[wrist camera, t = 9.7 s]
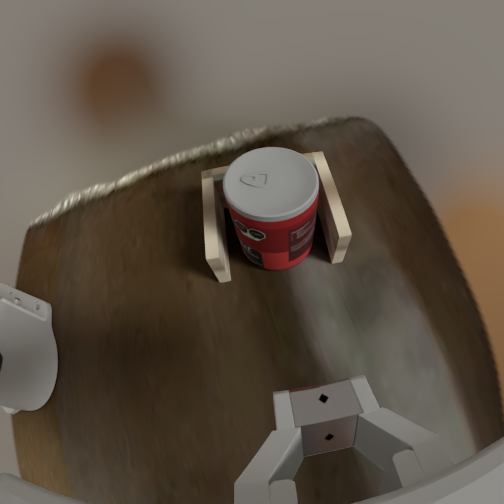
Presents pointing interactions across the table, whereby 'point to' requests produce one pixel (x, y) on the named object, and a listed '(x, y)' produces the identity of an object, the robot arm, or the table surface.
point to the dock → (215, 203)
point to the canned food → (273, 205)
